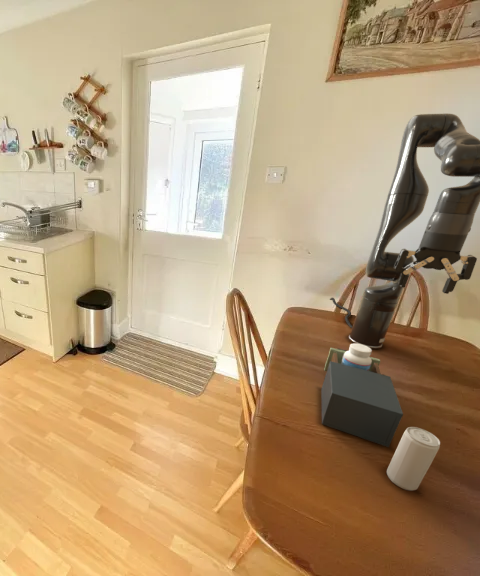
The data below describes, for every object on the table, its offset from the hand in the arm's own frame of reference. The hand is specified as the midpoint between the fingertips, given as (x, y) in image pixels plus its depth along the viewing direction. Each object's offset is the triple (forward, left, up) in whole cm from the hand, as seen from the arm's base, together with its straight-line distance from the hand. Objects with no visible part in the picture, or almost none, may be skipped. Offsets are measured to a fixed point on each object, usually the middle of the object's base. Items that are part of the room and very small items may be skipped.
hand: (422, 289), depth 85 cm
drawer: (+13, -11, -27) cm, 32 cm away
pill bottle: (+14, -11, -26) cm, 32 cm away
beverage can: (+44, -4, -28) cm, 52 cm away
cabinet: (+27, -11, -28) cm, 40 cm away
